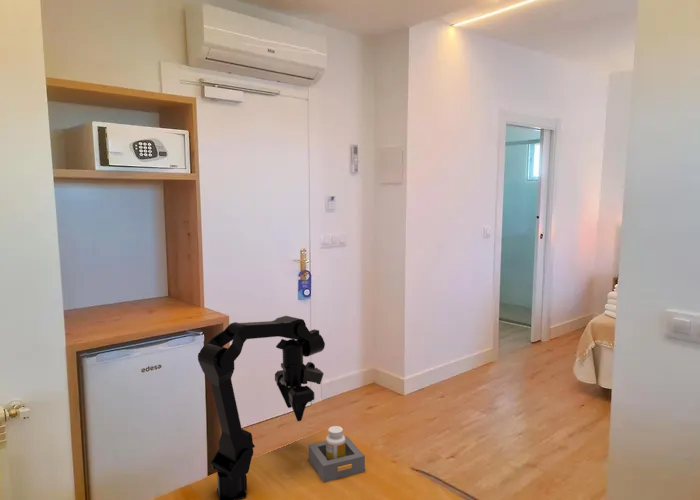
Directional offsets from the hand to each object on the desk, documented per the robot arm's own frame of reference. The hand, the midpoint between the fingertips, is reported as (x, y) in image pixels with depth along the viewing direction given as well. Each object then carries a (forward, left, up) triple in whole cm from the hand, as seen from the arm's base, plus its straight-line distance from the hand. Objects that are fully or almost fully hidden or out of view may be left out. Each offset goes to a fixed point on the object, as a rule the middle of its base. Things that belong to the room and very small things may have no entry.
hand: (294, 414), depth 141 cm
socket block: (+9, -9, -13) cm, 18 cm away
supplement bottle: (+9, -9, -12) cm, 18 cm away
